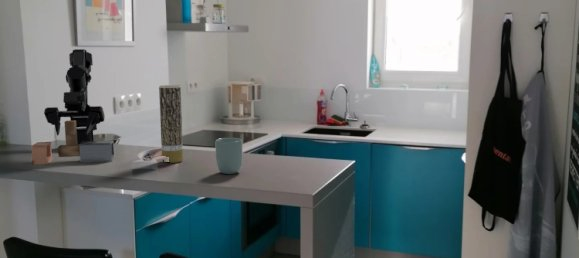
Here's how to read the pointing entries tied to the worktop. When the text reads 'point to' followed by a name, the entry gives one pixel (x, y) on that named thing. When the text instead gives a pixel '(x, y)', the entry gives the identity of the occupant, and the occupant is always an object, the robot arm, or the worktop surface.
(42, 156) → the light brown block
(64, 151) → the wooden l-shaped block
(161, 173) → the worktop surface
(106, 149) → the sleeve
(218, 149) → the cup
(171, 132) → the speckled tall cylinder
